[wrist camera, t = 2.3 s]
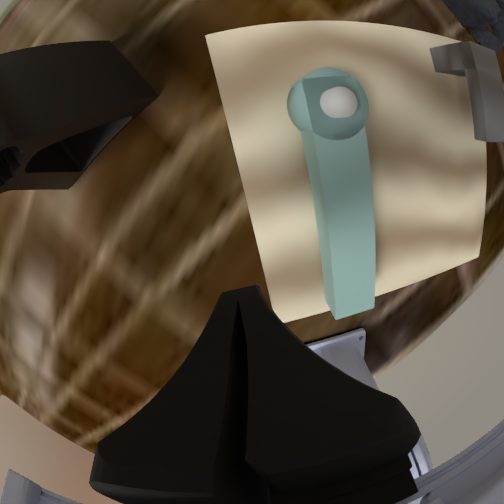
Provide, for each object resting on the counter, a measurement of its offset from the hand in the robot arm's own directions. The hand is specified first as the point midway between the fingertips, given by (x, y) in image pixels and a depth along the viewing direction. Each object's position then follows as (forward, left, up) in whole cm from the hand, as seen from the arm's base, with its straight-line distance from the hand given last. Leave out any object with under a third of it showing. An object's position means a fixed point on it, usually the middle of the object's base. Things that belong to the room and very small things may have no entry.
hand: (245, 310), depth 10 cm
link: (+1, -6, -8) cm, 10 cm away
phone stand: (+10, +8, -10) cm, 16 cm away
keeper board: (+2, -12, -9) cm, 15 cm away
